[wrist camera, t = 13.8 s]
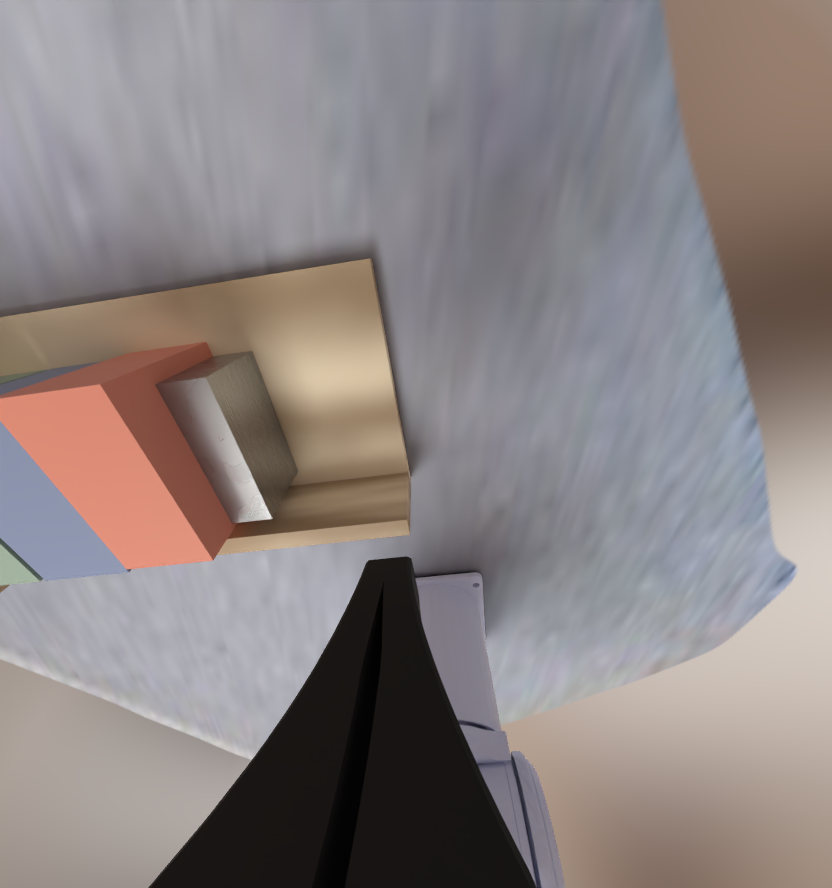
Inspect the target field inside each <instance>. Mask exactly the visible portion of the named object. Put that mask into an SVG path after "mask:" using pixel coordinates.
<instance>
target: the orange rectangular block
mask: <svg viewBox="0 0 832 888" xmlns="http://www.w3.org/2000/svg"><path fill="white" fill-rule="evenodd" d="M211 357H213V355H212V353H211V351H210V349H209V346H208V344H207V342H201V343H194V344H188V345H181V346H174V347H167V348H160V349H154V350H147V351H140V352H133V353H127V354H124V355H121V356H118V357H115V358H112V359H109V360H106V361H103V362H100V363H97V364H94V365H90V366H87V367H84V368H81V369H78V370H75V371H72V372H69V373H66V374H63V375H60V376H57V377H54V378H51V379H48V380H45V381H42V382H39V383H36V384H33V385H30V386H27V387H24V388H21V389H18V390H15V391H12V392H9V393H6V394H3V395H0V421H1V422H2V424H3V425H4V426H5V427H6V428H7V429H8V431H9V432H10V433H11V434H12V435H13V437H14V438H15V439H16V440H17V441H18V442H19V444H20V445H21V446H22V447H23V448H24V449H25V451H26V452H27V453H28V454H29V455H30V457H31V458H32V459H33V460H34V461H35V462H36V464H37V465H38V466H39V467H40V468H41V469H42V471H43V472H44V473H45V474H46V475H47V477H48V478H49V479H50V480H51V481H52V482H53V484H54V485H55V486H56V487H57V488H58V489H59V491H60V492H61V493H62V494H63V495H64V497H65V498H66V499H67V500H68V501H69V502H70V504H71V505H72V506H73V507H74V508H75V509H76V511H77V512H78V513H79V514H80V515H81V517H82V518H83V519H84V520H85V521H86V522H87V524H88V525H89V526H90V527H91V528H92V529H93V531H94V532H95V533H96V534H97V535H98V537H99V538H100V539H101V540H102V541H103V542H104V544H105V545H106V546H107V547H108V548H109V549H110V551H111V552H112V553H113V554H114V555H115V556H116V558H117V559H118V560H119V561H120V562H121V564H122V565H123V566H124V567H125V568H126V569H135V568H145V567H154V566H164V565H174V564H183V563H193V562H203V561H212V560H214V558H215V557H216V555H217V554H218V552H219V551H220V549H221V548H222V546H223V545H224V543H225V542H226V540H227V539H228V537H229V536H230V534H231V533H232V531H233V530H234V528H235V527H236V525H237V524H238V523H232V522H231V521H230V519H229V517H228V515H227V513H226V512H225V510H224V508H223V506H222V504H221V503H220V501H219V499H218V497H217V495H216V494H215V492H214V490H213V488H212V486H211V485H210V483H209V481H208V479H207V477H206V476H205V474H204V472H203V470H202V468H201V467H200V465H199V463H198V461H197V459H196V458H195V456H194V454H193V452H192V450H191V449H190V447H189V445H188V443H187V441H186V440H185V438H184V436H183V434H182V432H181V431H180V429H179V427H178V425H177V423H176V422H175V420H174V418H173V416H172V415H171V413H170V411H169V409H168V407H167V406H166V404H165V402H164V400H163V398H162V397H161V395H160V393H159V391H158V389H157V388H156V386H155V384H157V383H159V382H161V381H163V380H165V379H167V378H169V377H171V376H173V375H176V374H178V373H180V372H182V371H184V370H186V369H188V368H190V367H192V366H194V365H196V364H198V363H200V362H202V361H204V360H206V359H208V358H211Z"/></svg>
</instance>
